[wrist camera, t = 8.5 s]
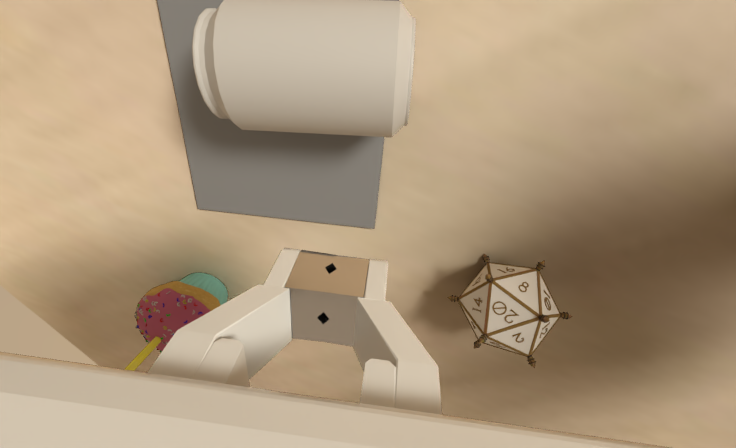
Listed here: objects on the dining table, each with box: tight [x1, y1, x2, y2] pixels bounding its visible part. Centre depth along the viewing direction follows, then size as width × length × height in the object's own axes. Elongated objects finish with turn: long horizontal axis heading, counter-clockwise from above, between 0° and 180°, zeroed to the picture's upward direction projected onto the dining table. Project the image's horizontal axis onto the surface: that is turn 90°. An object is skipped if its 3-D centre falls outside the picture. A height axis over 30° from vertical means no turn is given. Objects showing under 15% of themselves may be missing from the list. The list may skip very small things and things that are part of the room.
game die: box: [448, 254, 572, 368], centre depth 30 cm, size 9×8×10 cm
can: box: [192, 0, 416, 137], centre depth 22 cm, size 8×8×12 cm
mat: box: [157, 0, 399, 229], centre depth 27 cm, size 16×20×1 cm
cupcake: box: [125, 273, 228, 371], centre depth 32 cm, size 9×8×12 cm
